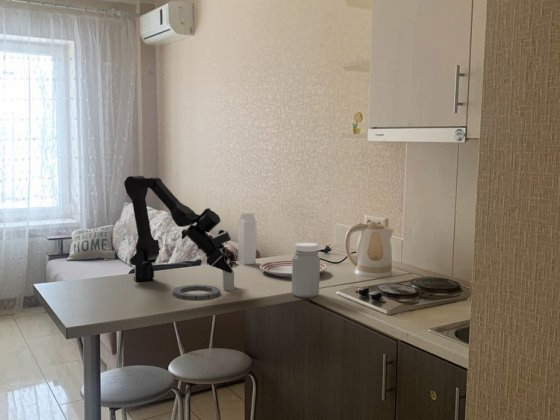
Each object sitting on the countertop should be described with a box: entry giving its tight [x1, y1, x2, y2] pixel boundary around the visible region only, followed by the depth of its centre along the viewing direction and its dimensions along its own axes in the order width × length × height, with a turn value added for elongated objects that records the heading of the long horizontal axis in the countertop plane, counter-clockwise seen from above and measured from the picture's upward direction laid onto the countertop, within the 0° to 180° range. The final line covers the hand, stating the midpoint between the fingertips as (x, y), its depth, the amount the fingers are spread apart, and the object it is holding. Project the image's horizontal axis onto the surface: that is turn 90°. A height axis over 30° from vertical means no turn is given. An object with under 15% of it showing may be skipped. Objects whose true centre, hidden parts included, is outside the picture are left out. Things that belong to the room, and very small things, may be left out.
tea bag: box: [221, 259, 235, 291], centre depth 217 cm, size 4×7×10 cm, turn 9°
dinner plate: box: [259, 259, 328, 279], centre depth 246 cm, size 27×27×3 cm
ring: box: [172, 284, 221, 301], centre depth 208 cm, size 16×16×1 cm
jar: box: [291, 241, 321, 299], centre depth 210 cm, size 10×10×18 cm
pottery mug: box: [221, 246, 237, 265], centre depth 263 cm, size 12×10×8 cm
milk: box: [237, 212, 257, 266], centre depth 262 cm, size 6×6×22 cm
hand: (232, 269), depth 217 cm, fingers open, 9 cm apart
